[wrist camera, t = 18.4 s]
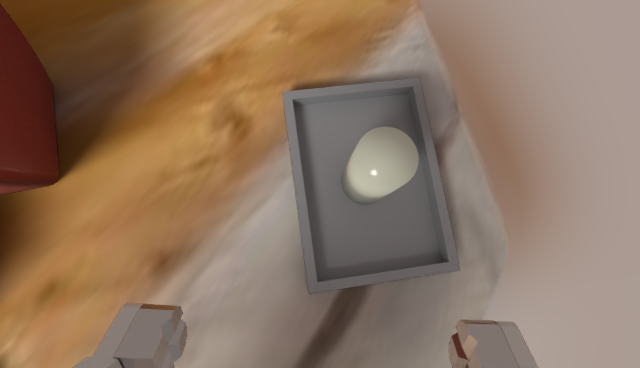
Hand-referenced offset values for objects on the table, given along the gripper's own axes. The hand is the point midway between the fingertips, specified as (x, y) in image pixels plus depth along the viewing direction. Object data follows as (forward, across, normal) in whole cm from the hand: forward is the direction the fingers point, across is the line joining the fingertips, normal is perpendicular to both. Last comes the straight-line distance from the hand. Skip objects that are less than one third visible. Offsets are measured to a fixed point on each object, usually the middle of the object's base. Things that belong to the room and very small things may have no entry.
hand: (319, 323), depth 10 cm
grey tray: (+28, -5, +13) cm, 31 cm away
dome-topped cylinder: (+27, -5, +12) cm, 30 cm away
